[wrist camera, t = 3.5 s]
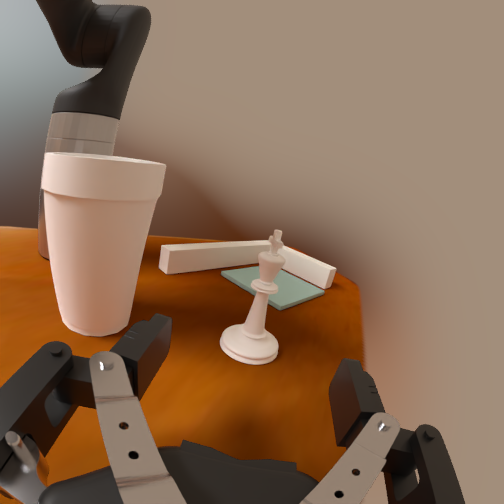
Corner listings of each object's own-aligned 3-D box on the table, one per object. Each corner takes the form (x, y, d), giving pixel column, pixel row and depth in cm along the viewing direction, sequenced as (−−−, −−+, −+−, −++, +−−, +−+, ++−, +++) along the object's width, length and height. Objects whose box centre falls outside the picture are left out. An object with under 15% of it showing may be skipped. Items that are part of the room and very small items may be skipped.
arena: (158, 268, 34) (161, 245, 33) (267, 256, 50) (271, 240, 49) (233, 326, 26) (239, 297, 25) (336, 289, 41) (342, 270, 40)
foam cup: (61, 360, 15) (56, 156, 11) (36, 297, 20) (38, 151, 17) (168, 331, 22) (191, 169, 19) (119, 284, 28) (133, 158, 24)
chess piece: (267, 331, 26) (295, 227, 23) (285, 364, 22) (324, 245, 19) (215, 328, 24) (237, 217, 22) (225, 364, 20) (255, 234, 17)
